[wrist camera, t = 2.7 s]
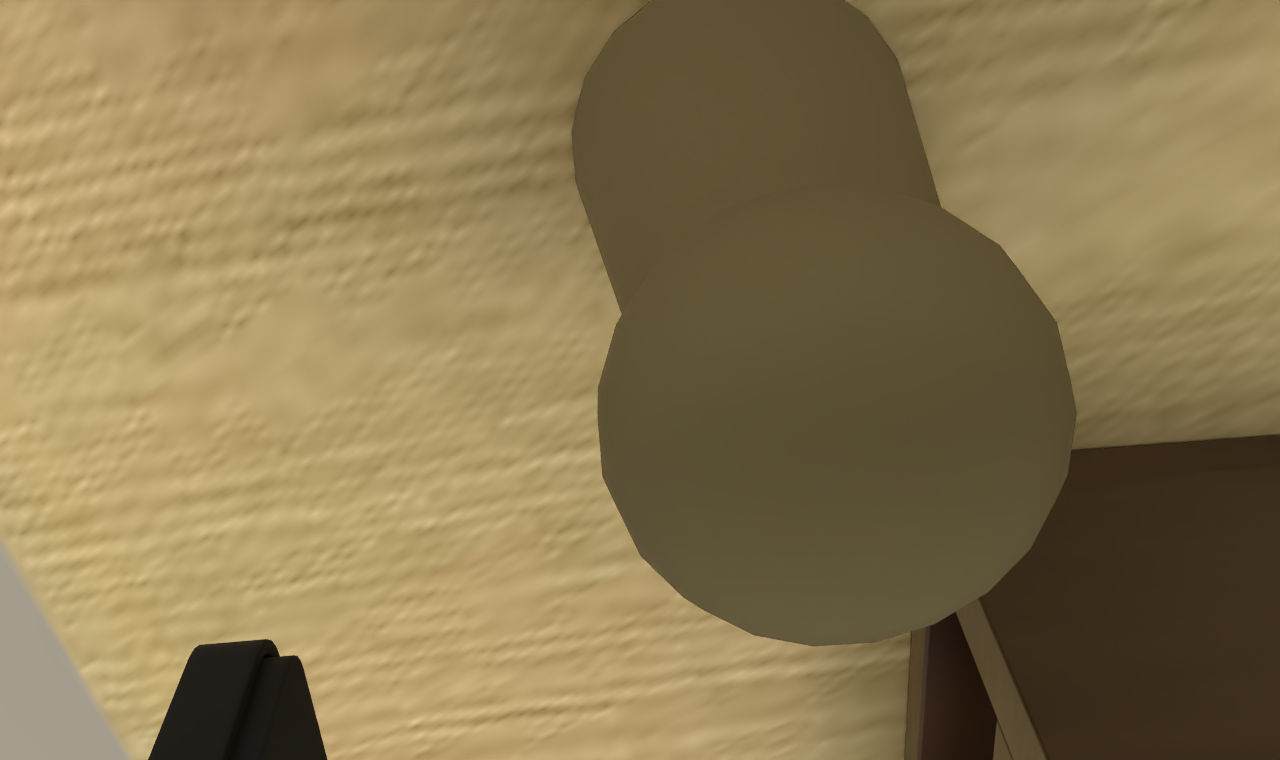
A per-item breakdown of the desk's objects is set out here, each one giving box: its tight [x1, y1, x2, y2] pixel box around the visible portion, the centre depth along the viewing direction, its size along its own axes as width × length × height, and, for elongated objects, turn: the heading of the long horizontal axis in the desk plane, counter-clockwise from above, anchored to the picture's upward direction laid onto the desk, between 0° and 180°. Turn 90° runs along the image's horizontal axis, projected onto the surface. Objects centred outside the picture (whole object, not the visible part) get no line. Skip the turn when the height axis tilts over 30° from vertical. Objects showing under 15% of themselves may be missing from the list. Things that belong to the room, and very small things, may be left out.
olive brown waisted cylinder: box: [572, 0, 1077, 646], centre depth 17 cm, size 6×6×11 cm
